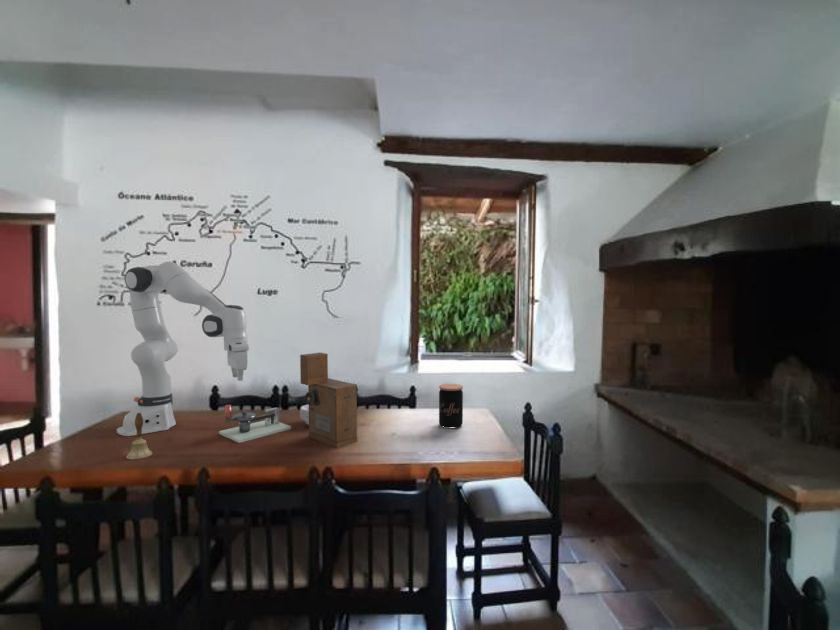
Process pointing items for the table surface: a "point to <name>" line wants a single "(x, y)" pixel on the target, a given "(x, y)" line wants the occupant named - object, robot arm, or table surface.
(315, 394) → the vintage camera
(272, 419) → the telegraph key
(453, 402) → the coffee jar
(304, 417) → the paper bowls
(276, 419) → the grey support bracket
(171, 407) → the robot arm
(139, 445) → the hand bell
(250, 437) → the board
